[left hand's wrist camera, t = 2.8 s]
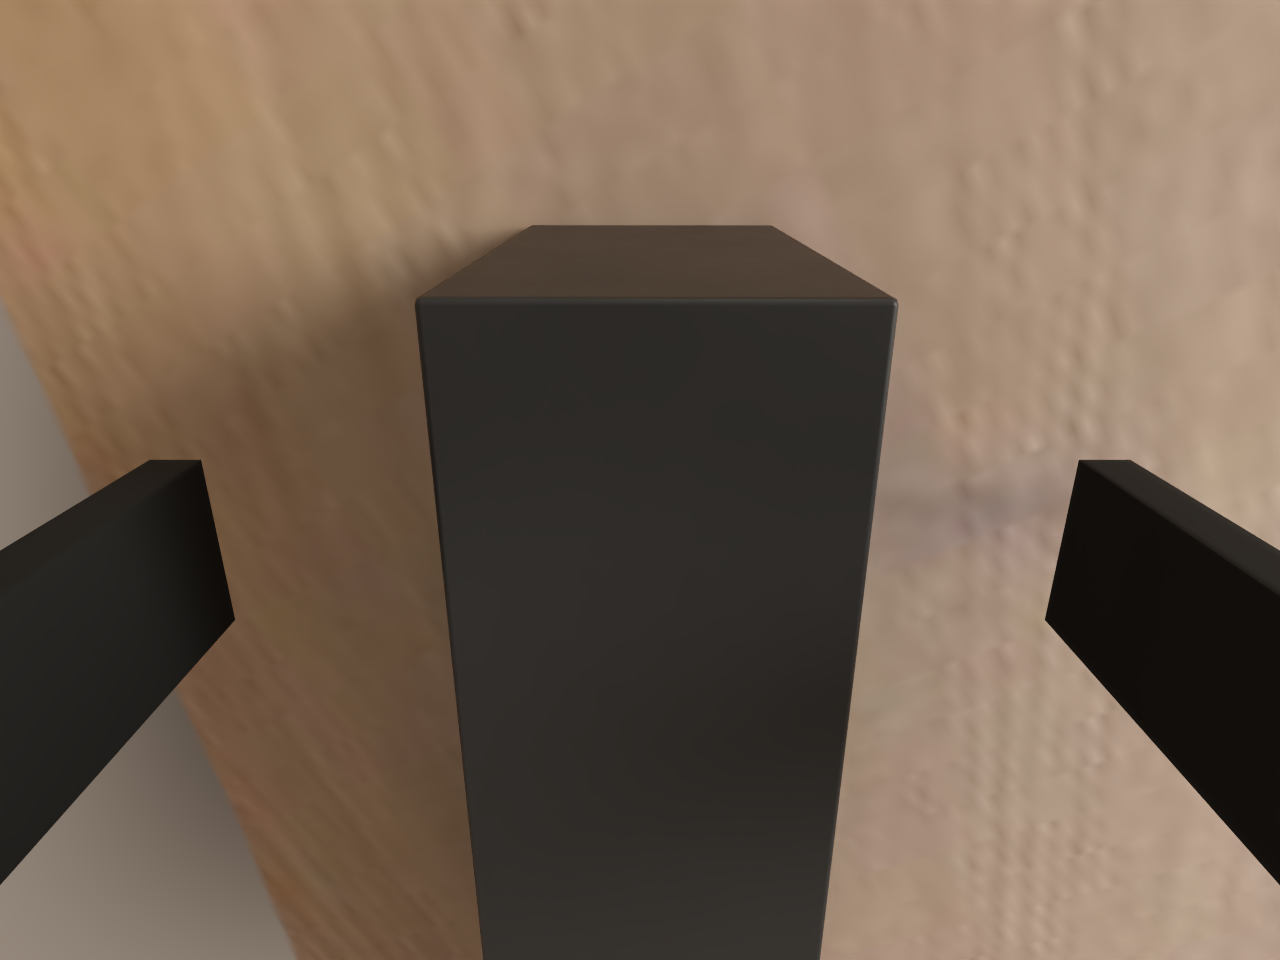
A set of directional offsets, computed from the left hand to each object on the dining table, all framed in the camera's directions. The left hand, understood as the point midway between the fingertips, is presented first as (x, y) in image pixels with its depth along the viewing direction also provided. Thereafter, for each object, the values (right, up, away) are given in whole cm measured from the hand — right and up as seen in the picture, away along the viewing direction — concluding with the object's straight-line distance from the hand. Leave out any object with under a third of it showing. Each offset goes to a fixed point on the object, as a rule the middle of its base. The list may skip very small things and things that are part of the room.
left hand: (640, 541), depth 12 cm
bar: (0, -4, +8) cm, 9 cm away
